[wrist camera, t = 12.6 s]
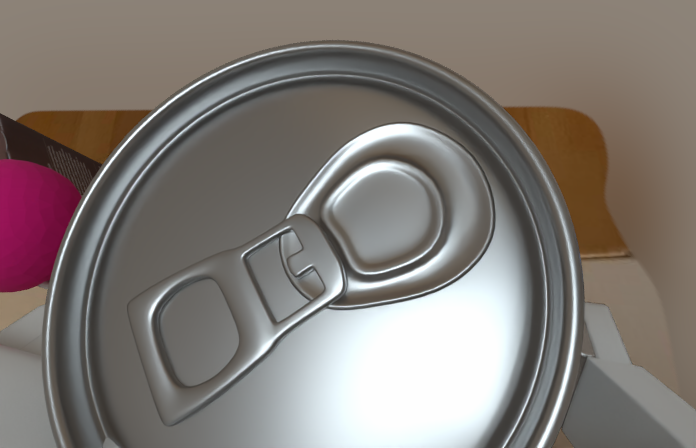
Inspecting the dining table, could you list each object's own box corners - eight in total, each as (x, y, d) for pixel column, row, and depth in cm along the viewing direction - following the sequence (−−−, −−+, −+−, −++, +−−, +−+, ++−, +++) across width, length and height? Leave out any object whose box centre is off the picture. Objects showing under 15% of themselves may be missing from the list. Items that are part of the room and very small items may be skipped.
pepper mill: (164, 260, 34) (-168, 151, 16) (237, 228, 34) (-21, 73, 15) (178, 342, 32) (-201, 324, 13) (258, 308, 31) (-25, 239, 12)
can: (530, 366, 14) (885, 407, 3) (372, 463, 14) (79, 887, 3) (424, 220, 16) (378, -75, 5) (293, 304, 16) (-29, 195, 5)
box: (94, 204, 38) (-52, 143, 27) (131, 178, 38) (0, 105, 27) (111, 254, 36) (-41, 209, 25) (151, 226, 36) (17, 168, 25)
